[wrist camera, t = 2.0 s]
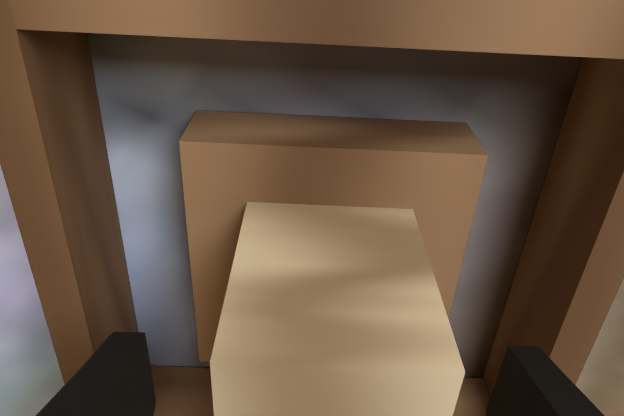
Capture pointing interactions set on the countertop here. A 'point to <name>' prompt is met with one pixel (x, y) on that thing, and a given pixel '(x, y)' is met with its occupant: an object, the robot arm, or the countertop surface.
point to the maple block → (333, 318)
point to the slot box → (312, 167)
